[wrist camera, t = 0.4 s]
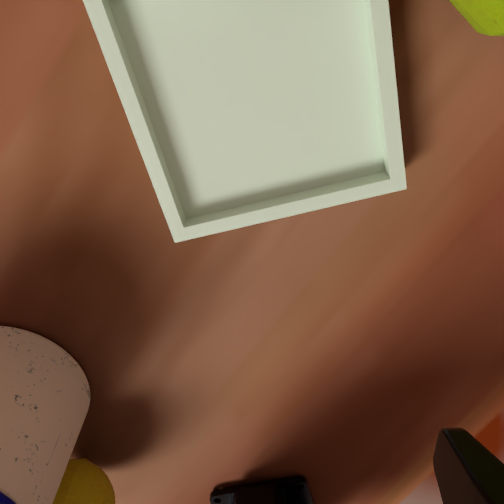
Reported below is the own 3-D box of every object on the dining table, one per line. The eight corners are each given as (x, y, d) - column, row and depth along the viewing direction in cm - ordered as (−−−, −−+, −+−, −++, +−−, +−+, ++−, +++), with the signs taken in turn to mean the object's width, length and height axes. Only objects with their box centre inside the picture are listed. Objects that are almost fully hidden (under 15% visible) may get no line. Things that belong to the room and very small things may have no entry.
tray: (396, 176, 20) (406, 188, 19) (179, 227, 21) (174, 243, 20) (366, -99, 16) (378, -107, 14) (90, -14, 17) (77, -15, 15)
